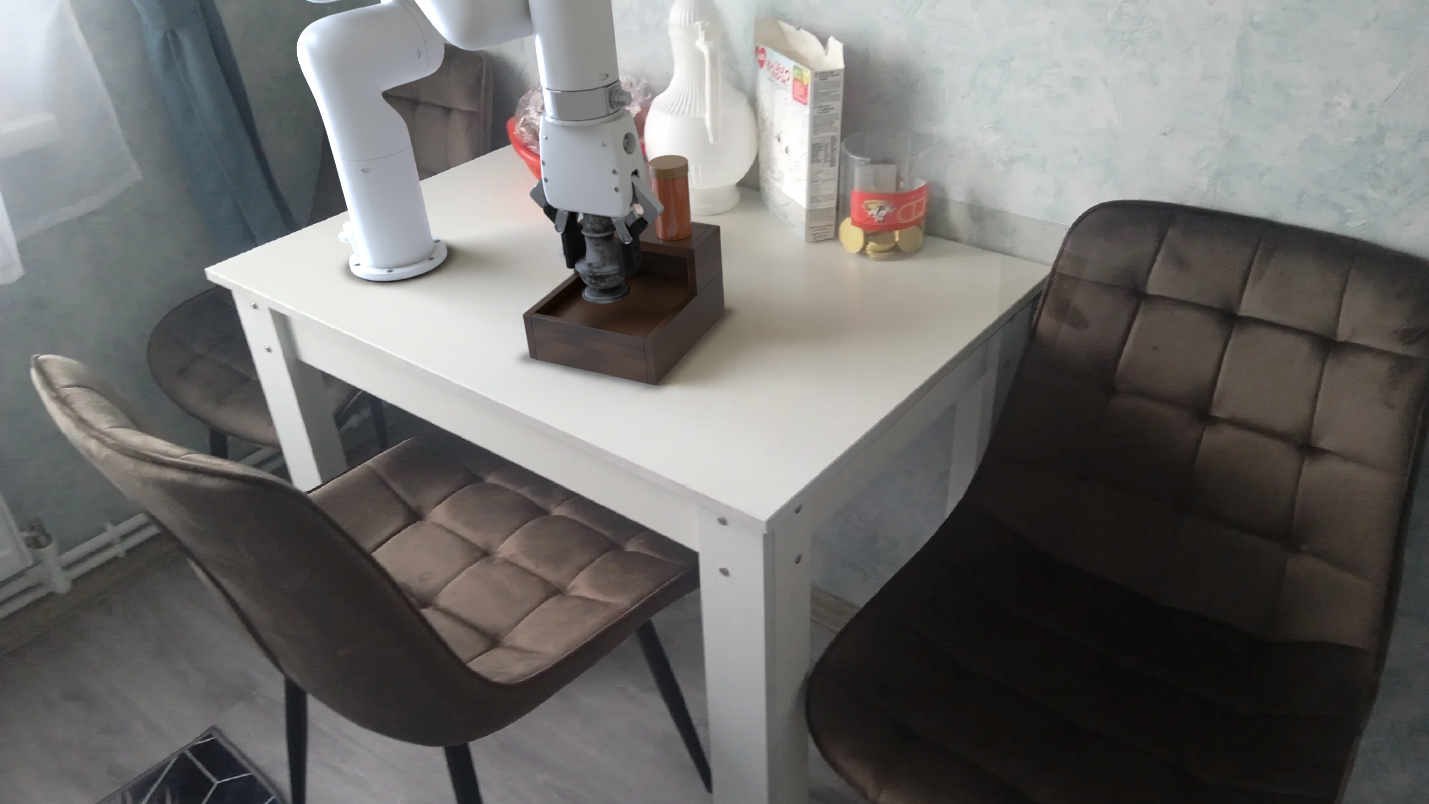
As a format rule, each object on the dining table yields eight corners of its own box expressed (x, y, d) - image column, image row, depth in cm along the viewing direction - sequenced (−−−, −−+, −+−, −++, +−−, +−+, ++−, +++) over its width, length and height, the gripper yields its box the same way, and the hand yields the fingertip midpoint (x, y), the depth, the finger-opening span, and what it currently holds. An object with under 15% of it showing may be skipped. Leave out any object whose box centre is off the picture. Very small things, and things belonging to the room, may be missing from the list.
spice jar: (648, 238, 113) (641, 166, 109) (666, 223, 117) (660, 152, 112) (682, 243, 112) (676, 170, 107) (699, 228, 115) (694, 156, 110)
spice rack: (529, 357, 115) (514, 268, 109) (607, 290, 127) (597, 207, 121) (656, 385, 109) (647, 292, 103) (724, 312, 121) (720, 225, 115)
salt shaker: (625, 306, 108) (613, 198, 102) (572, 303, 110) (556, 197, 103) (640, 281, 113) (629, 176, 107) (588, 278, 114) (574, 175, 108)
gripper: (679, 95, 99) (691, 265, 109) (530, 81, 106) (554, 243, 116) (641, 119, 94) (658, 296, 104) (486, 103, 100) (516, 271, 110)
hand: (603, 266), depth 110 cm, fingers closed on salt shaker, 5 cm apart
